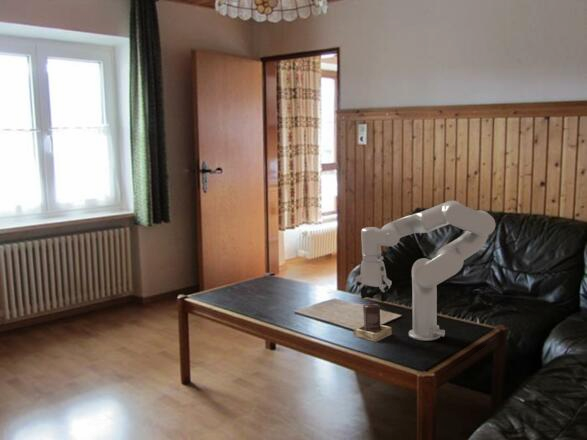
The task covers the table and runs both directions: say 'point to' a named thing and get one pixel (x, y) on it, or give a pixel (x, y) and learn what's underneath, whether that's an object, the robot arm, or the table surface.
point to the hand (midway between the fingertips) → (374, 299)
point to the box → (371, 318)
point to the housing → (372, 336)
